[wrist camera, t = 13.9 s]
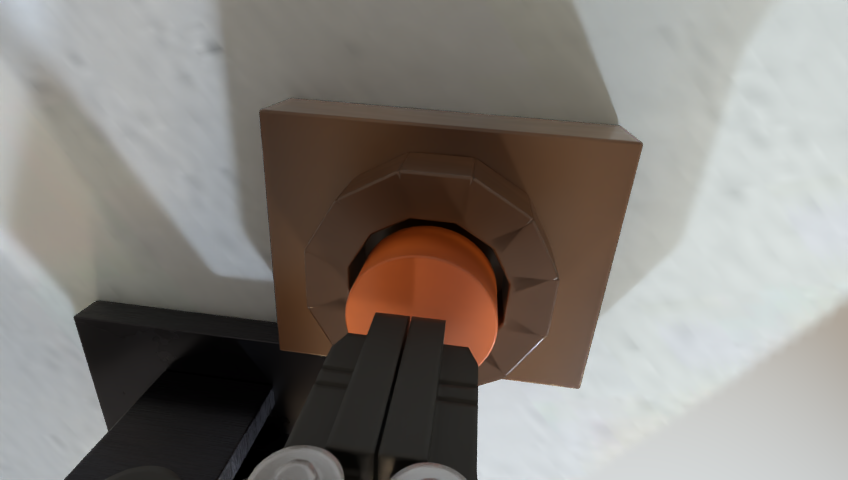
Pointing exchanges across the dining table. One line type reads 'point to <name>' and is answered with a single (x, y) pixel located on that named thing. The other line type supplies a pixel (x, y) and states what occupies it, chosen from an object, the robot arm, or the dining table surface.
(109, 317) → the lever base
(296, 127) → the button base
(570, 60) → the dining table surface
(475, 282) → the warm button
